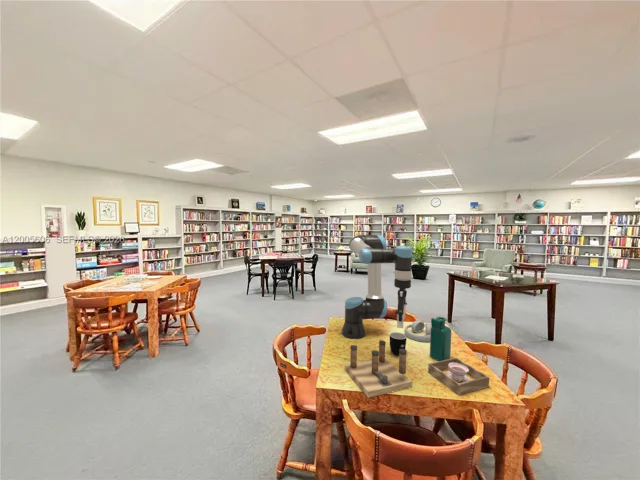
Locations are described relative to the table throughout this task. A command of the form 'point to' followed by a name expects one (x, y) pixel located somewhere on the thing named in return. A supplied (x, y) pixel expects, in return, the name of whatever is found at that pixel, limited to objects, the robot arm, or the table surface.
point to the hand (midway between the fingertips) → (401, 322)
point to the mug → (397, 342)
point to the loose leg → (402, 361)
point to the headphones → (418, 327)
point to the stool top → (370, 381)
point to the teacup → (458, 372)
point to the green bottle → (440, 339)
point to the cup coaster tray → (458, 388)
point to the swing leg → (375, 367)
